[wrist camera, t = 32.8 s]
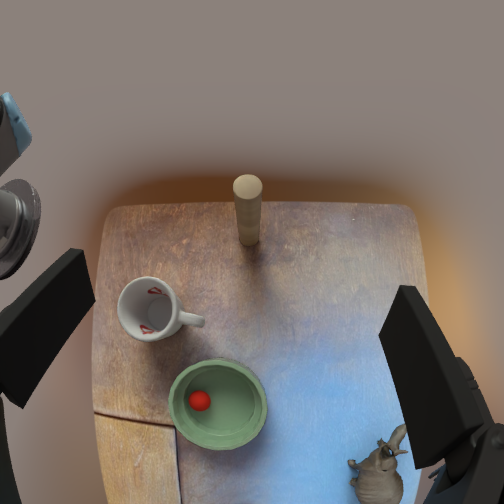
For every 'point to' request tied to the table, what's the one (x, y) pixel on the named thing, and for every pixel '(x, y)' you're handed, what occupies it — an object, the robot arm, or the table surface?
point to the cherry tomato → (199, 400)
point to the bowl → (219, 404)
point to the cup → (153, 310)
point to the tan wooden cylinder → (248, 208)
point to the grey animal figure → (380, 472)
